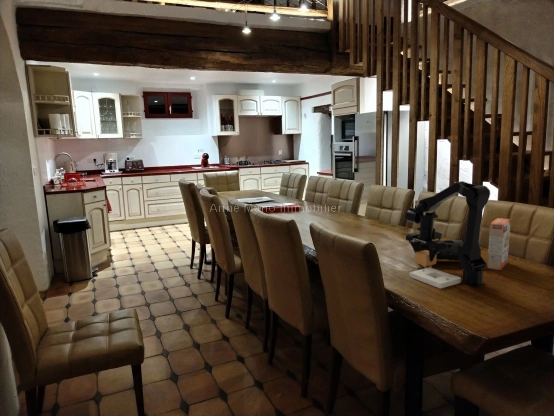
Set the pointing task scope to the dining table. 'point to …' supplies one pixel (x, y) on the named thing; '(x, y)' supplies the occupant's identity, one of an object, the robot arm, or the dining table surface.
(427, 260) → the plug
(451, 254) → the muzzle brake
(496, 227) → the cracker box
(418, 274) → the socket plate
